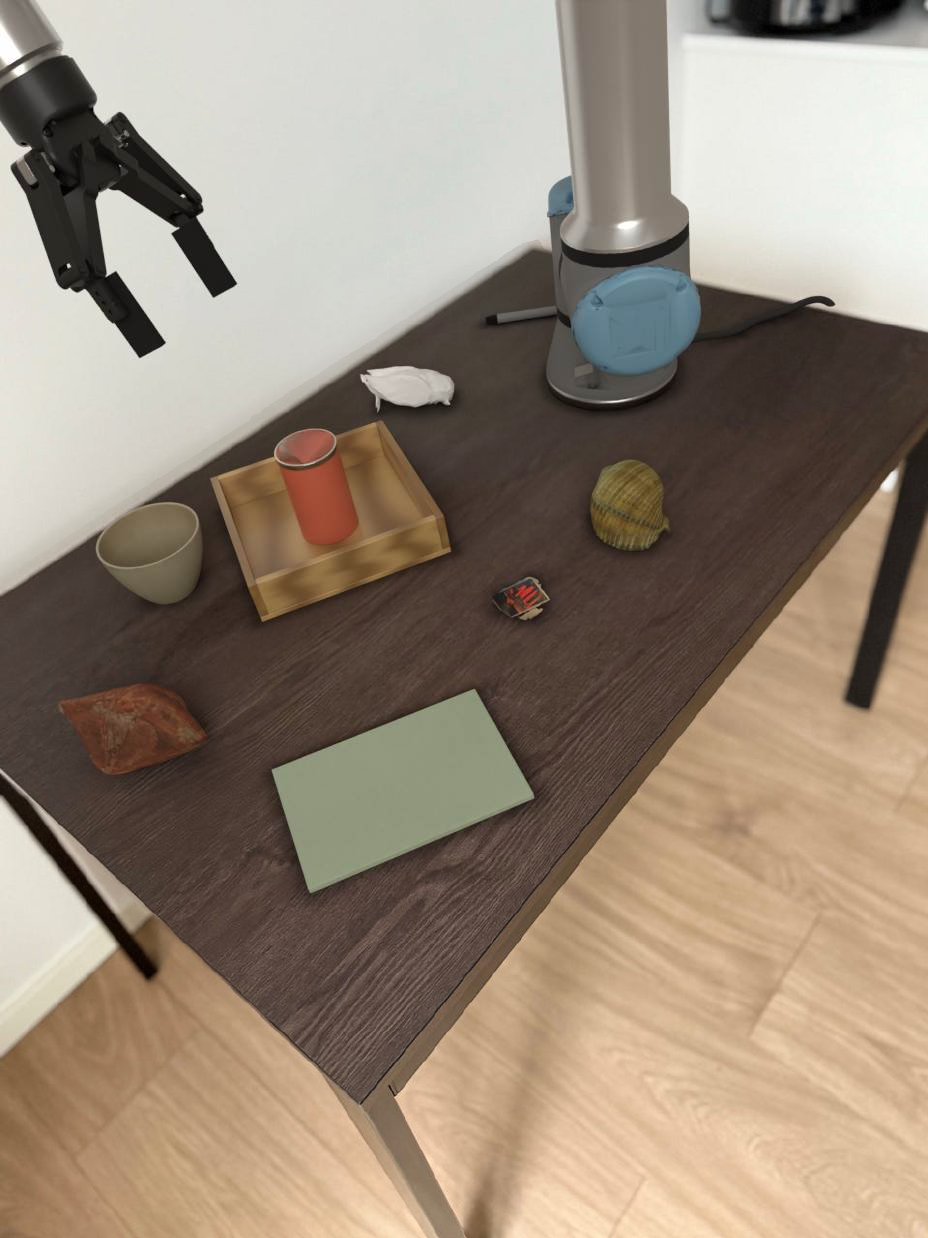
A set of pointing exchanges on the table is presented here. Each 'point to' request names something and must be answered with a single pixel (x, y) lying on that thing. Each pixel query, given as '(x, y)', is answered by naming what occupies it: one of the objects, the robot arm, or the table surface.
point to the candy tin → (317, 485)
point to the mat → (397, 788)
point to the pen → (521, 315)
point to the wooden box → (306, 573)
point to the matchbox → (521, 598)
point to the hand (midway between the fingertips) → (191, 319)
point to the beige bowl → (154, 551)
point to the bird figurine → (409, 386)
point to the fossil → (133, 726)
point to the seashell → (628, 506)
